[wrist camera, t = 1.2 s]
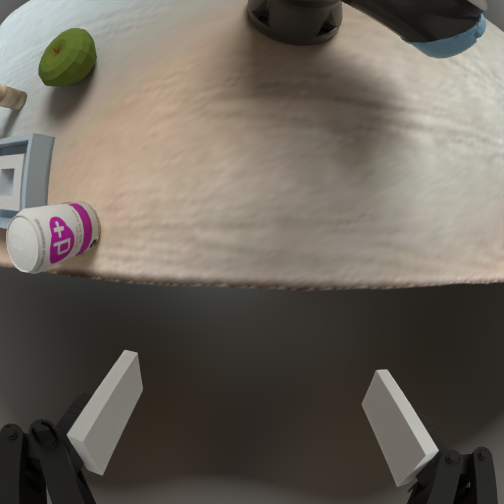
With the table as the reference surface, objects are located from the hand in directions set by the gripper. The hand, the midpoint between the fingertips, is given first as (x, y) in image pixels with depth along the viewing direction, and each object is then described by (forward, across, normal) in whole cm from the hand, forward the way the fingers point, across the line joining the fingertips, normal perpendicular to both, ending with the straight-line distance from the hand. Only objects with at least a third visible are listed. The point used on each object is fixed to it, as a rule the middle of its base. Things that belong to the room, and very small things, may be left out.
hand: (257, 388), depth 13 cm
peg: (+27, -50, +28) cm, 63 cm away
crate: (+27, -46, +10) cm, 54 cm away
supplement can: (+27, -28, +3) cm, 39 cm away
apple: (+27, -33, +31) cm, 53 cm away
